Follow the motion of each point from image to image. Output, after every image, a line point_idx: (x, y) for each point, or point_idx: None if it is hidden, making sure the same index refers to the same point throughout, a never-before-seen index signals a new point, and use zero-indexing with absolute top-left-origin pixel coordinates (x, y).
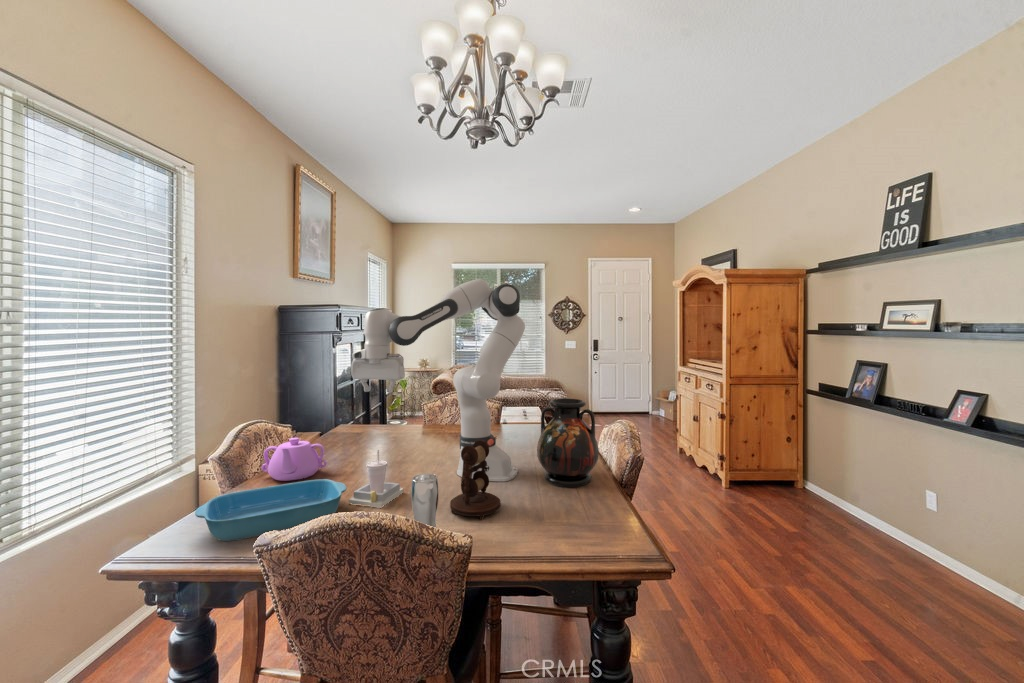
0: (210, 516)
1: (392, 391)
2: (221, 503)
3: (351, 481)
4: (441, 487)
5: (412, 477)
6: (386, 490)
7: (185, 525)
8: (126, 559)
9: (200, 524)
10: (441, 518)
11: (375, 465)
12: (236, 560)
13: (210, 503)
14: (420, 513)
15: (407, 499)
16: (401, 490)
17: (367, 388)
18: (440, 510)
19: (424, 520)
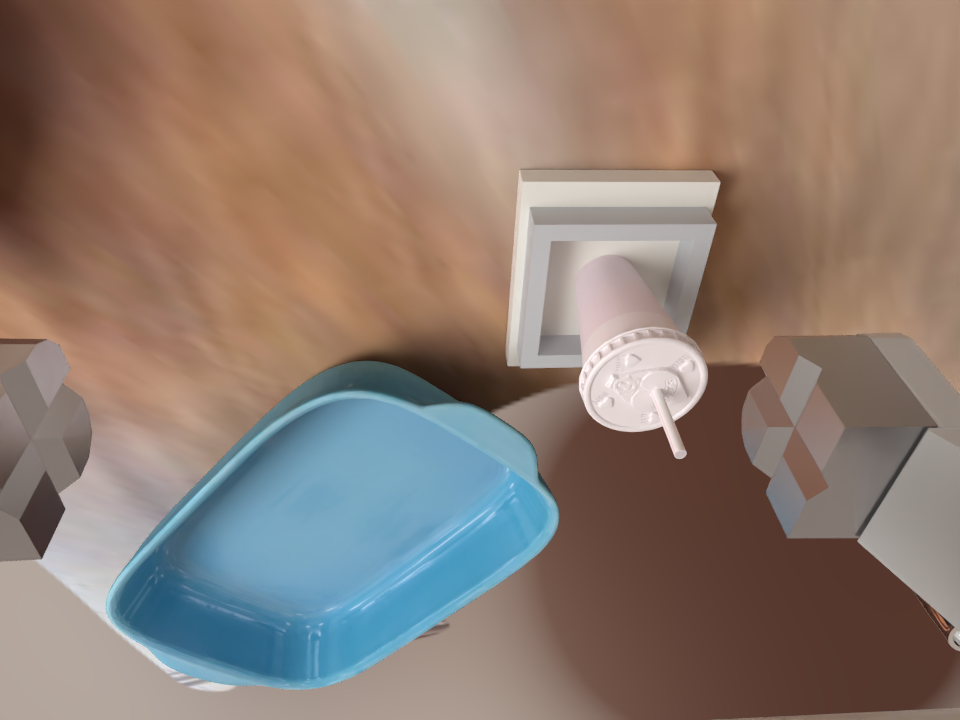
0: (218, 637)
1: (892, 353)
2: (132, 590)
3: (281, 77)
4: (935, 23)
5: (951, 636)
6: (678, 320)
7: (86, 580)
8: (185, 677)
9: (122, 568)
10: (937, 357)
11: (654, 419)
12: (436, 630)
13: (151, 638)
14: None
15: (757, 238)
16: (713, 201)
17: (60, 511)
18: (933, 301)
19: None
